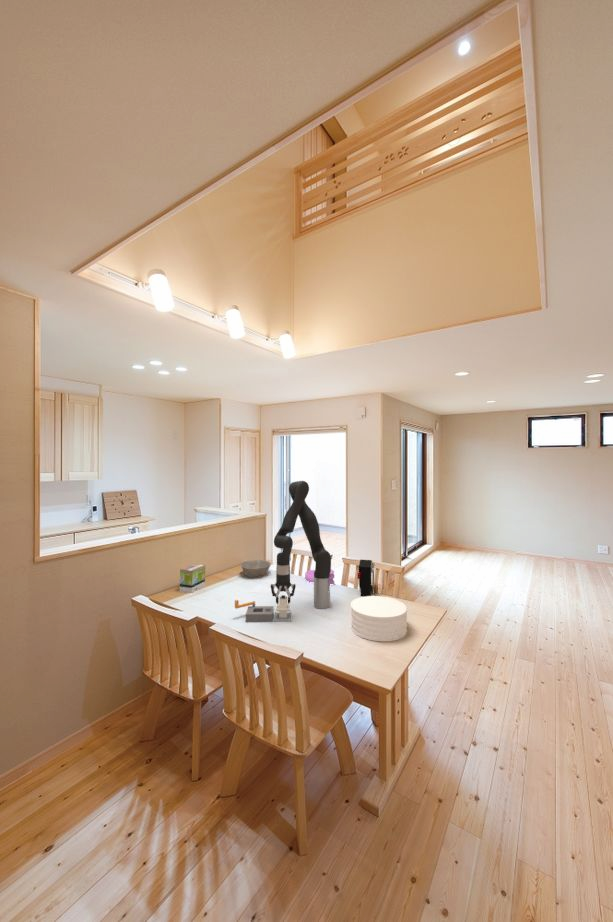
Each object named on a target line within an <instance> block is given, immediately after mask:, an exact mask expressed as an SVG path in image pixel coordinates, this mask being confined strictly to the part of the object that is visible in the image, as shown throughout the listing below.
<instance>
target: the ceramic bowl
mask: <svg viewBox="0 0 613 922" xmlns="http://www.w3.org/2000/svg"><path fill="white" fill-rule="evenodd" d="M271 565H272V564H271V562H270V561H267V560H264V559H263V560H261V559H257V560H254V559H253V560H248V561H243V562H241V563H240V564H239V566H240V567H241V569H242V571H243V573H244V574H245V575H246V576H247V577H248V578H252V579H257V578H262V577H264V576H265V575H266V574H267V573H268V571H269V569H270V568H271Z"/></svg>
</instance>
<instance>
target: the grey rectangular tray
mask: <svg viewBox="0 0 613 922" xmlns="http://www.w3.org/2000/svg"><path fill="white" fill-rule="evenodd" d="M274 607H275V606H274V605H265V606H264V605H263V606H262V605H255V606H252V605H249V606H247V609H246V613H245V623H249V622H250V623H265V622H266V623H267V622H268V623H272V622H273V621H274V620H273V619H274V615H275V614H274V613H275V612H274V609H275V608H274Z"/></svg>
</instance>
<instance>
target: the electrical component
mask: <svg viewBox="0 0 613 922" xmlns="http://www.w3.org/2000/svg"><path fill="white" fill-rule="evenodd" d="M357 580H358V583H359V586H358V587H359V588H358V589H359V590H360V597H366V596H375V594H374V592H375V591H374V590H375V562H373V560H372V559H359V563H358V572H357Z"/></svg>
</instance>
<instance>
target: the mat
mask: <svg viewBox="0 0 613 922" xmlns="http://www.w3.org/2000/svg"><path fill="white" fill-rule="evenodd" d="M274 613H275V614H274V617H273V619H274V620H273V622H274V623H277V622H278V623H282V622H285V623H287V622H290V623H291V622H292V612H290V611H287V618H279V611H276V612H274Z"/></svg>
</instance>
